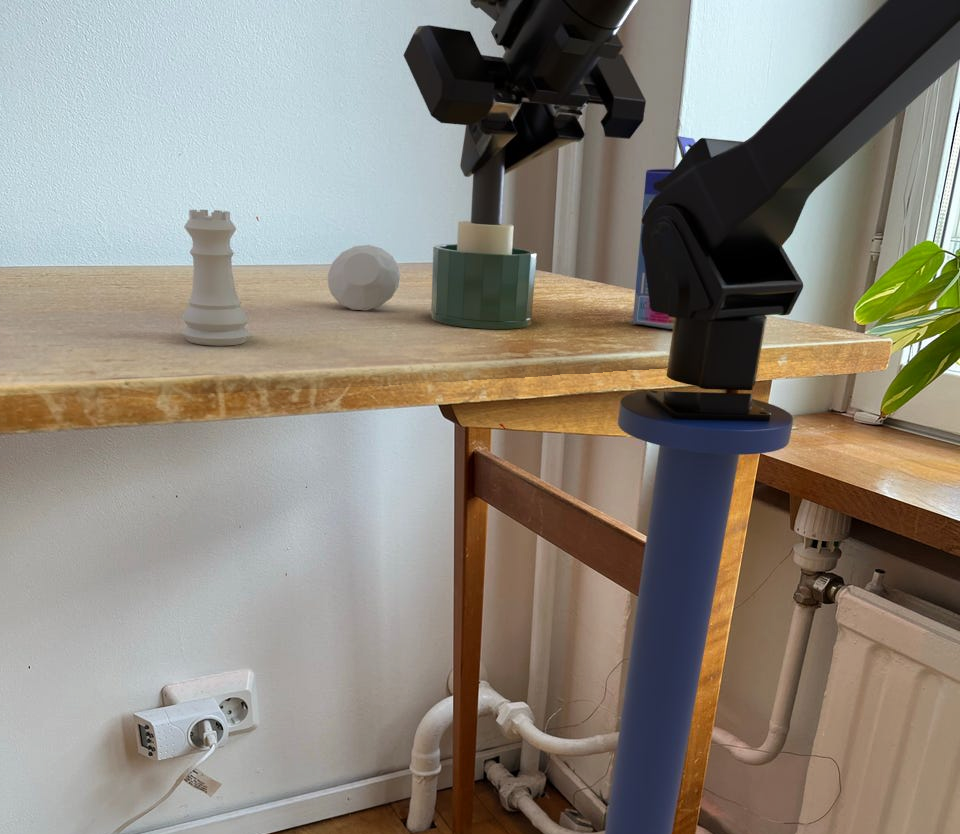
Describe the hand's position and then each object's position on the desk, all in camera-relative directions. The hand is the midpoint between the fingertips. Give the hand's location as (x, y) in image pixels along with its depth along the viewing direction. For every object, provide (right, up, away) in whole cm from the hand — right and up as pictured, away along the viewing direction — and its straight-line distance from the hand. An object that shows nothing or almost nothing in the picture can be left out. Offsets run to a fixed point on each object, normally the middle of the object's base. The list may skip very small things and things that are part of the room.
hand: (478, 172), depth 77 cm
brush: (0, -6, +2) cm, 7 cm away
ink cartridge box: (+18, -9, +9) cm, 22 cm away
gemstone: (-10, -8, +7) cm, 15 cm away
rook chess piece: (-18, -17, -11) cm, 26 cm away
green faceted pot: (0, -10, +4) cm, 11 cm away
